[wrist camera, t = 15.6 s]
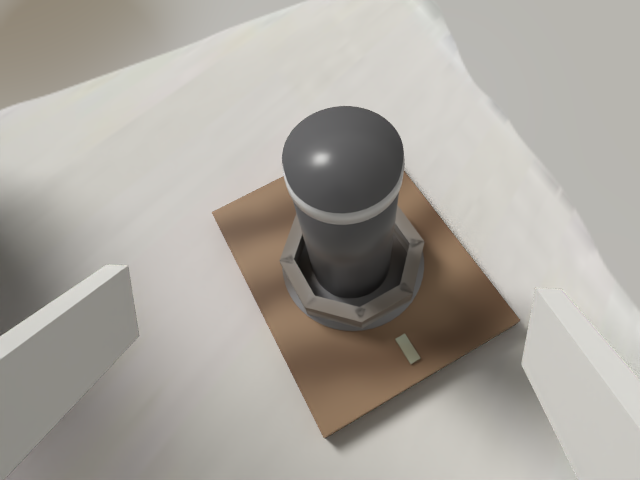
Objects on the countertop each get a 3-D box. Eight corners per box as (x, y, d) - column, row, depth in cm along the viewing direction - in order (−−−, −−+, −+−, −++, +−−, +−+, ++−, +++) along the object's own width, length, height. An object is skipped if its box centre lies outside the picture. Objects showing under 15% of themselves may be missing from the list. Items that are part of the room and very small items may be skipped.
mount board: (216, 219, 39) (204, 200, 36) (373, 139, 41) (373, 116, 38) (325, 438, 31) (320, 436, 28) (515, 324, 33) (529, 312, 30)
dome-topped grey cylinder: (297, 248, 36) (259, 138, 23) (364, 213, 36) (363, 87, 24) (335, 314, 33) (316, 230, 20) (406, 274, 34) (431, 169, 21)
